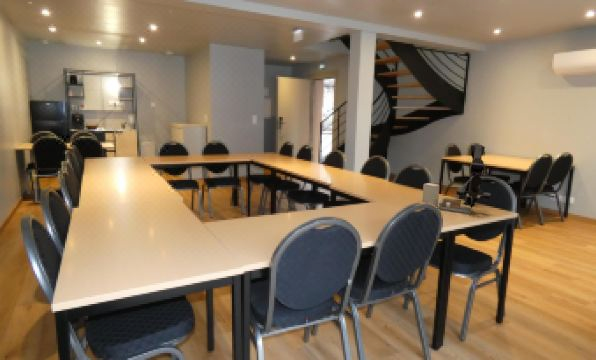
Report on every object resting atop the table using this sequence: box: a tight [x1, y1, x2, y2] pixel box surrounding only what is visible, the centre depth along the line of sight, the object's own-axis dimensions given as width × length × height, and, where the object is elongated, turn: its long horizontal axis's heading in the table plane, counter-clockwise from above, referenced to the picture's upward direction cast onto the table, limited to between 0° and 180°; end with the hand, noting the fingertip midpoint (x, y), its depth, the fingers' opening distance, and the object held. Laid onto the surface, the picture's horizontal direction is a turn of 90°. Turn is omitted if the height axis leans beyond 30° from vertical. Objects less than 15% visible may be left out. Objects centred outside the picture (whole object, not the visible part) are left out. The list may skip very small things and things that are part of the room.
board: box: [438, 197, 473, 216], centre depth 231 cm, size 15×18×5 cm
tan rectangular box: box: [442, 197, 462, 209], centre depth 232 cm, size 5×10×5 cm, turn 63°
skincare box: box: [421, 182, 440, 208], centre depth 234 cm, size 8×6×15 cm
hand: (471, 207), depth 227 cm, fingers closed
